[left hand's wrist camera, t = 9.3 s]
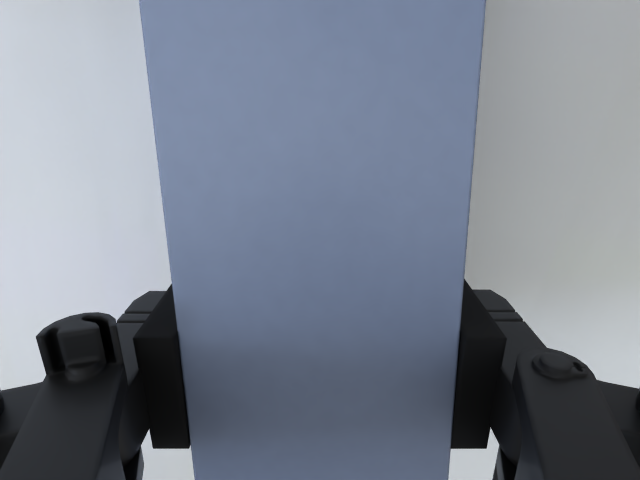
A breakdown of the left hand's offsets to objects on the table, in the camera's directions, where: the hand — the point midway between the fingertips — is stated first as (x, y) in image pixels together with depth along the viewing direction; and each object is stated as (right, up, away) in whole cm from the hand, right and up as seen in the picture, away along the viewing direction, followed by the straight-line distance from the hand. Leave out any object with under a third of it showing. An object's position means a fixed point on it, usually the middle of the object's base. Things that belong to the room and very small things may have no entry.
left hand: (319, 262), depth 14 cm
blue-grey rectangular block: (0, +5, +3) cm, 6 cm away
